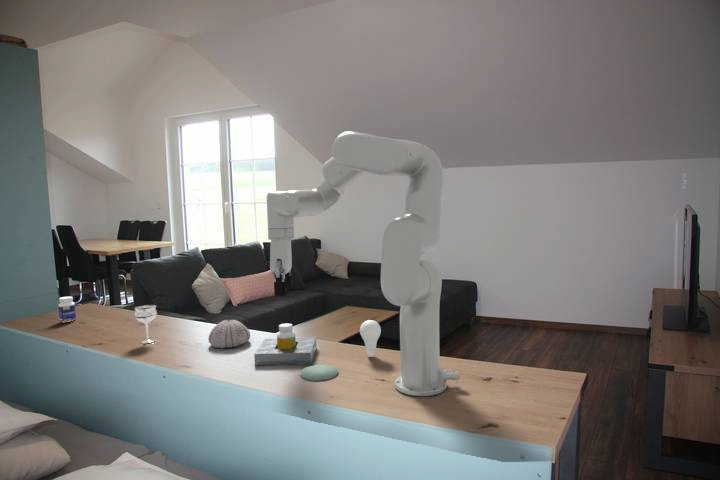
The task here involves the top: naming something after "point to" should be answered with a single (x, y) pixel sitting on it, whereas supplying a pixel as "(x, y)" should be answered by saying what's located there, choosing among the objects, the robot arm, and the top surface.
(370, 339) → the lightbulb
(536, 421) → the top surface
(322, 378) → the pad
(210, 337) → the sea urchin shell
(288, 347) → the supplement bottle
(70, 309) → the pill bottle
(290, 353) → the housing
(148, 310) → the wineglass
